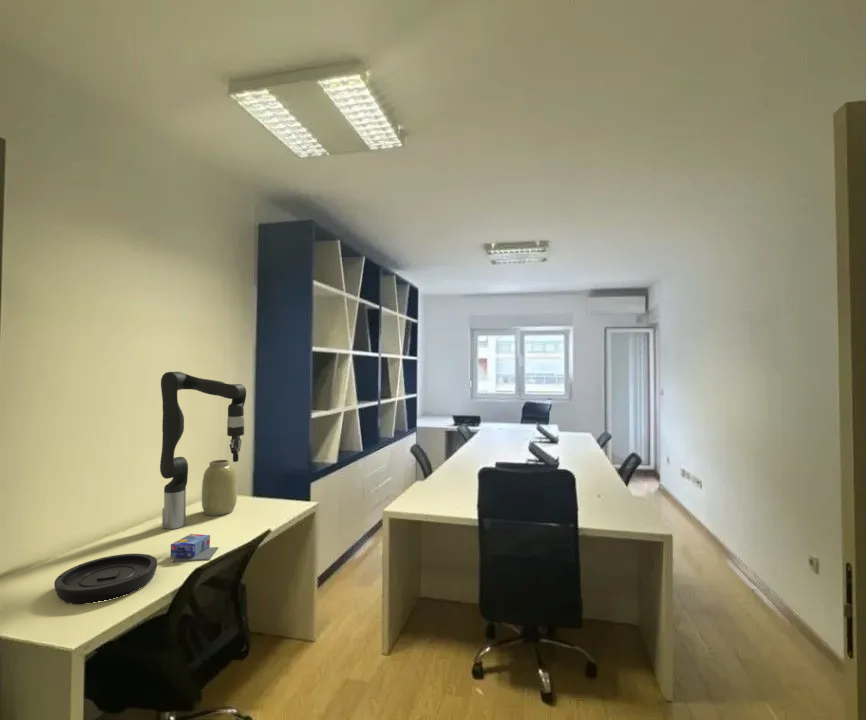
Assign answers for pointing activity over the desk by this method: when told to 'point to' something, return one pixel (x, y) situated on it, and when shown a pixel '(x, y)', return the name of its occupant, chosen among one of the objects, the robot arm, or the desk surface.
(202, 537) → the ink cartridge box
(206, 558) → the mat
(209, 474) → the vase
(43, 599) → the desk surface
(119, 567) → the round tray
